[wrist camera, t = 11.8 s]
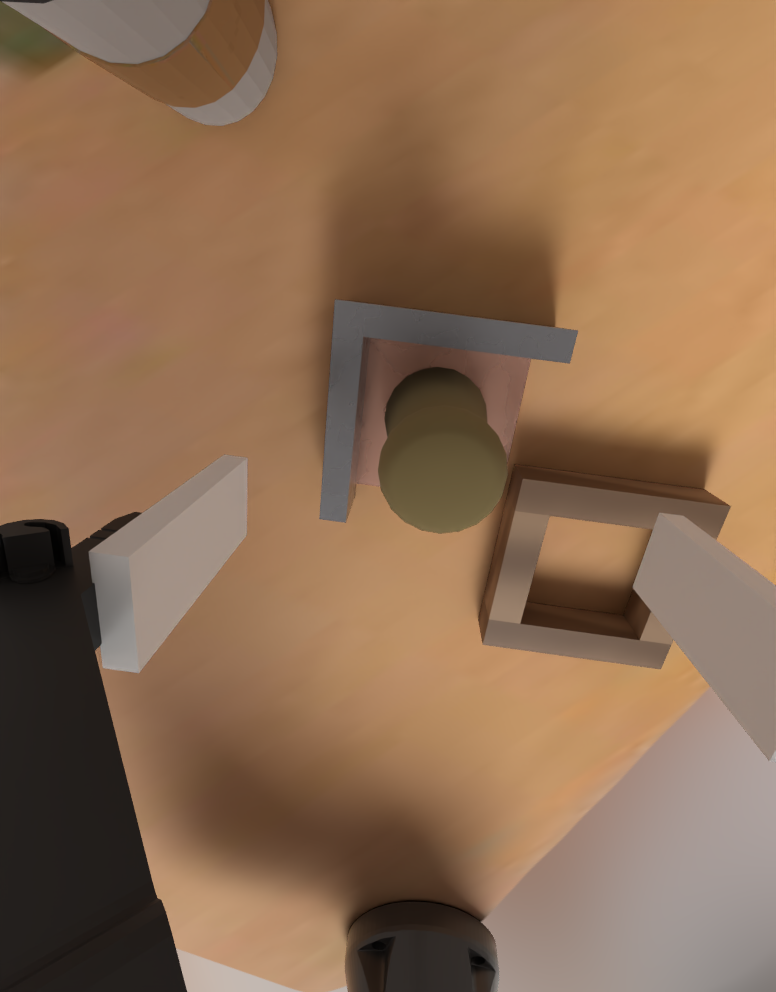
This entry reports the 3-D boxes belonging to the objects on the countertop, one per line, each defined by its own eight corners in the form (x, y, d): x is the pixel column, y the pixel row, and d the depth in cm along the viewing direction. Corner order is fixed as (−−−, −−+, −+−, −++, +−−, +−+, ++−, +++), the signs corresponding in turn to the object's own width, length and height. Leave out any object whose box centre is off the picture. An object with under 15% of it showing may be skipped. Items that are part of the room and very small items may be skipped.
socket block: (643, 642, 33) (660, 669, 31) (478, 620, 33) (482, 644, 31) (704, 489, 29) (730, 506, 26) (514, 464, 29) (522, 478, 26)
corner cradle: (510, 517, 30) (522, 546, 26) (331, 493, 30) (319, 519, 27) (555, 327, 26) (578, 330, 22) (347, 300, 26) (334, 299, 22)
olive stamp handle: (426, 344, 26) (429, 368, 16) (509, 409, 27) (561, 470, 17) (364, 429, 28) (332, 499, 18) (443, 486, 29) (455, 583, 19)
